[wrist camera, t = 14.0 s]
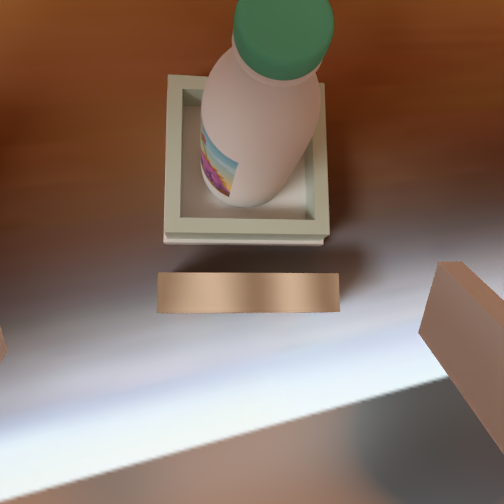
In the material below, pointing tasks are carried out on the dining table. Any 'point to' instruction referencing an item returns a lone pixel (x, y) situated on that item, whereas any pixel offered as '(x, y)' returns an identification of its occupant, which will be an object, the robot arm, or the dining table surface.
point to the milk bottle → (263, 98)
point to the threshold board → (248, 292)
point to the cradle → (230, 217)
